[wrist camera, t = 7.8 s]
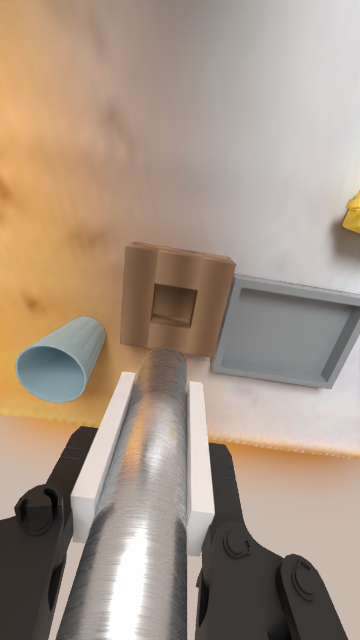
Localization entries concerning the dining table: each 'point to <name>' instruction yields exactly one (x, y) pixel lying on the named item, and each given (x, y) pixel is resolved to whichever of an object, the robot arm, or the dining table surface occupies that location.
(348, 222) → the teapot
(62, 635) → the pin
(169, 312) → the wooden square hole block
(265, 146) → the dining table surface
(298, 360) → the tray
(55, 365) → the cup
